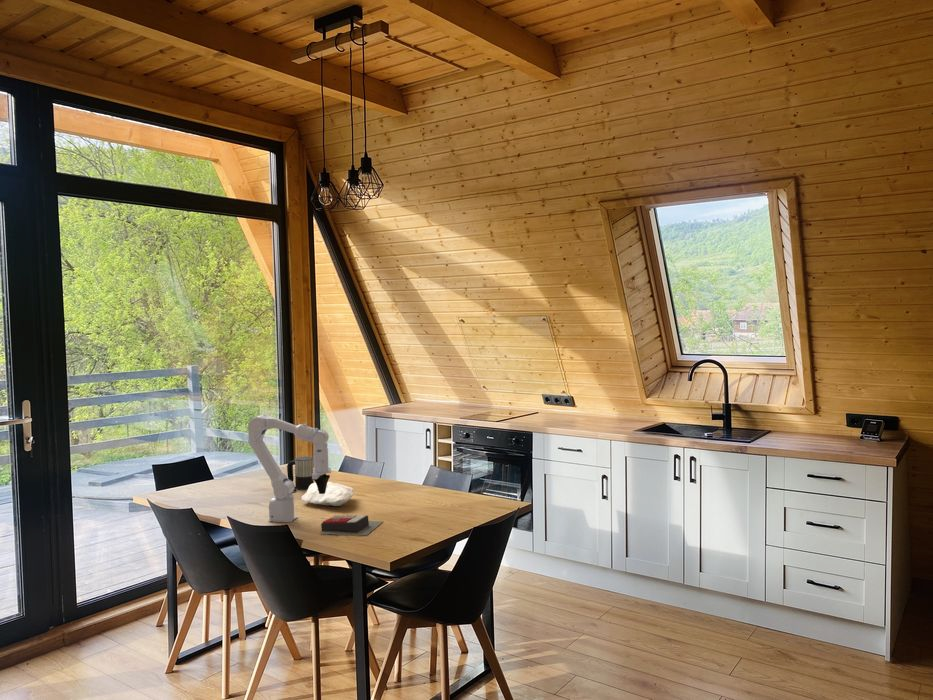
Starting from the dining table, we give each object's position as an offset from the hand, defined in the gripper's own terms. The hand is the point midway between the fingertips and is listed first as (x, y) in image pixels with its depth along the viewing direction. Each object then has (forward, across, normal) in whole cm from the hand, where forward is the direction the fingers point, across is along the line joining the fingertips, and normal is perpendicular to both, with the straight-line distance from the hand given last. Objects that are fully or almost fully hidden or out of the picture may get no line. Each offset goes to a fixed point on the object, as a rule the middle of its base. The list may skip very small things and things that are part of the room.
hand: (322, 493), depth 301 cm
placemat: (+10, -12, -17) cm, 24 cm away
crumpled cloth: (+11, +27, +7) cm, 30 cm away
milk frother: (+11, +53, +35) cm, 64 cm away
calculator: (+9, -12, -7) cm, 17 cm away
